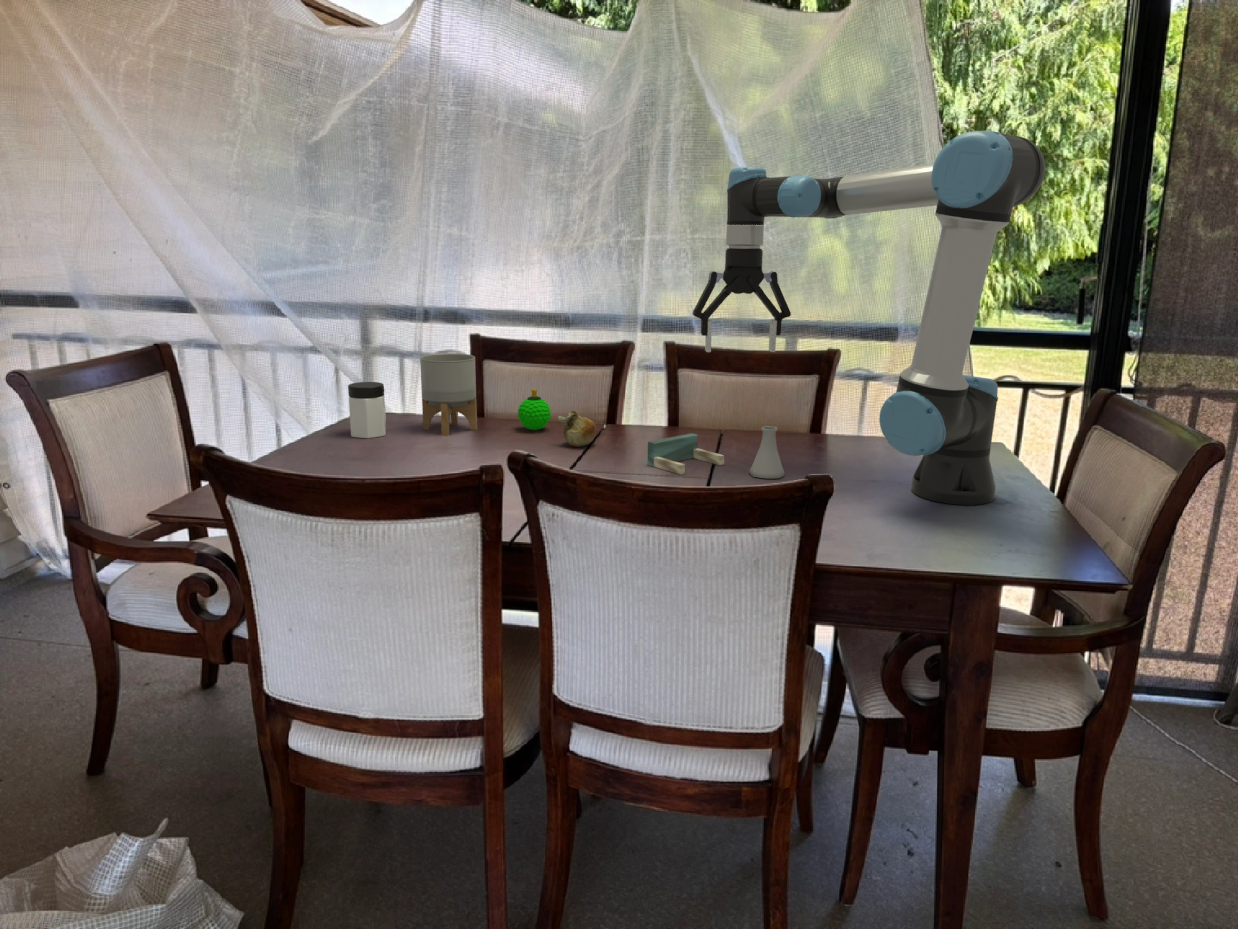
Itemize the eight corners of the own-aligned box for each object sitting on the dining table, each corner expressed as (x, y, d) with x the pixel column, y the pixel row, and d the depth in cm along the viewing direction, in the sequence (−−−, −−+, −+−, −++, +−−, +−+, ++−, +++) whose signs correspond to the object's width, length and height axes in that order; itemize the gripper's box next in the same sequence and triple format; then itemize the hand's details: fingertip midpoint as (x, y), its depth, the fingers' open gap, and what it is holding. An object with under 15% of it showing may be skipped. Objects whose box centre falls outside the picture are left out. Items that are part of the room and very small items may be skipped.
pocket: (723, 464, 191) (725, 441, 190) (680, 474, 183) (681, 451, 182) (690, 455, 199) (691, 433, 197) (647, 464, 190) (647, 441, 189)
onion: (577, 451, 200) (577, 416, 198) (555, 444, 206) (555, 410, 204) (603, 446, 205) (603, 412, 203) (581, 440, 211) (581, 406, 209)
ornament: (522, 425, 225) (522, 386, 222) (554, 427, 224) (554, 387, 221) (514, 433, 217) (513, 392, 214) (547, 434, 216) (546, 393, 213)
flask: (784, 481, 180) (787, 432, 177) (747, 478, 181) (750, 430, 179) (785, 471, 187) (788, 424, 184) (750, 469, 188) (752, 422, 185)
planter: (472, 436, 213) (469, 361, 209) (417, 435, 213) (414, 360, 209) (481, 424, 226) (479, 353, 221) (429, 423, 226) (426, 352, 221)
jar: (386, 438, 210) (383, 387, 207) (349, 439, 208) (346, 388, 205) (387, 429, 218) (384, 380, 215) (352, 430, 217) (349, 381, 213)
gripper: (799, 247, 187) (793, 348, 193) (681, 246, 185) (678, 349, 191) (809, 247, 180) (803, 353, 185) (686, 247, 178) (683, 353, 184)
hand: (740, 351), depth 188 cm, fingers open, 13 cm apart
